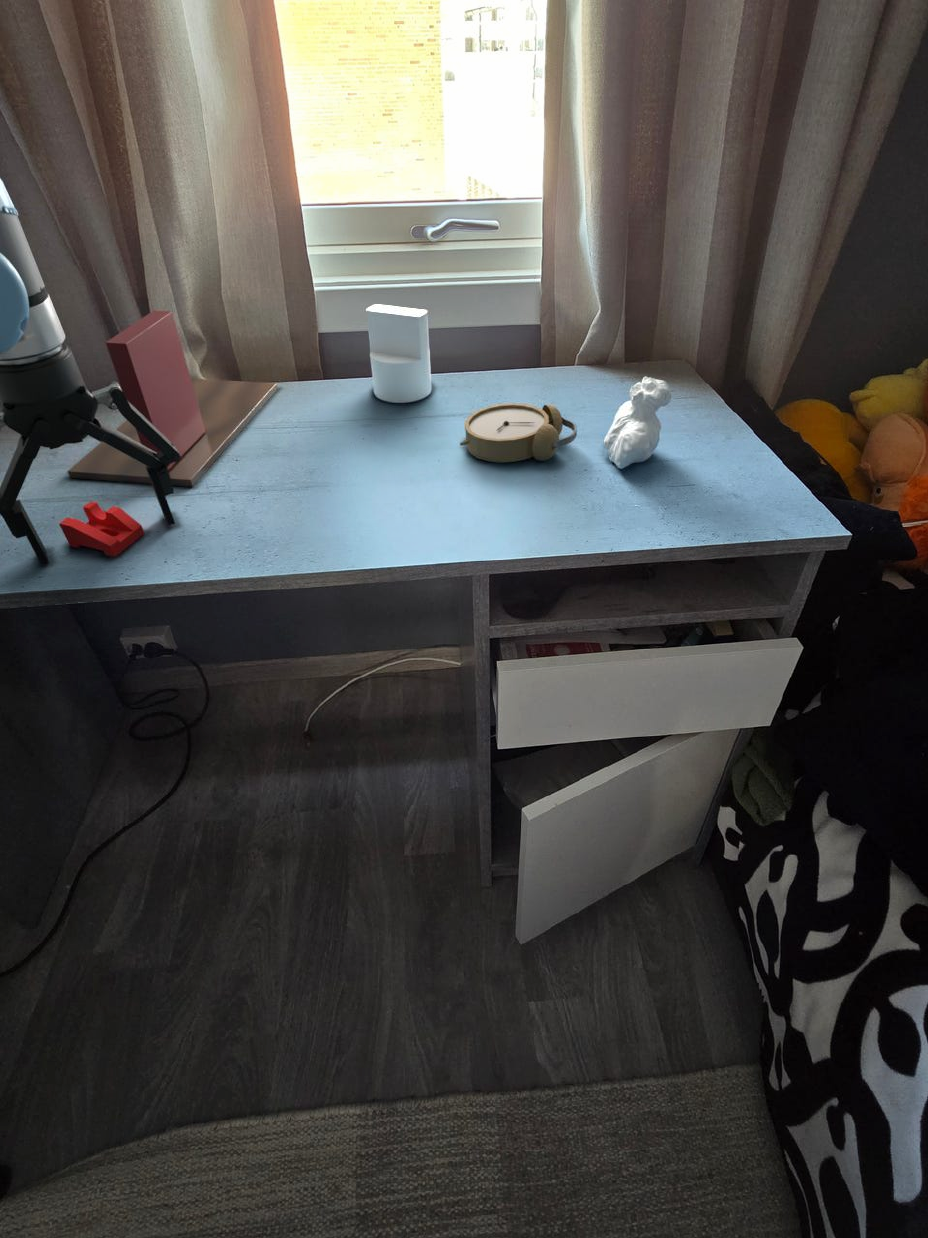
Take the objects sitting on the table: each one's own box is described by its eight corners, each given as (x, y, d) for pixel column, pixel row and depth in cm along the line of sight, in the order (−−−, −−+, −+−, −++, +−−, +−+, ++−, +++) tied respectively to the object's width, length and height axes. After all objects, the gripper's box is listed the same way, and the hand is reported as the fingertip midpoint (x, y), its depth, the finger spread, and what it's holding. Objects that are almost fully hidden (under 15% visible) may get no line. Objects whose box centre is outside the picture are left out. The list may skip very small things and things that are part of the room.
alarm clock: (471, 403, 97) (578, 392, 92) (477, 435, 100) (581, 426, 96) (454, 440, 88) (570, 430, 84) (461, 474, 92) (574, 466, 87)
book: (149, 469, 88) (105, 342, 77) (189, 429, 96) (153, 310, 85) (168, 470, 88) (125, 343, 77) (205, 430, 96) (172, 310, 85)
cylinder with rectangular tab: (363, 397, 106) (354, 316, 98) (390, 375, 112) (383, 297, 104) (416, 406, 103) (410, 323, 95) (440, 383, 109) (437, 304, 101)
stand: (70, 478, 89) (67, 471, 88) (177, 383, 111) (176, 377, 110) (192, 486, 87) (190, 479, 86) (277, 388, 109) (276, 382, 108)
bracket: (69, 545, 78) (58, 523, 76) (100, 523, 81) (90, 501, 79) (115, 556, 76) (105, 534, 74) (144, 533, 79) (135, 511, 77)
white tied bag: (632, 493, 88) (702, 430, 81) (588, 458, 85) (657, 390, 79) (626, 448, 97) (689, 388, 90) (586, 415, 94) (648, 351, 88)
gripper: (-135, 396, 57) (-12, 592, 71) (170, 335, 66) (225, 519, 81) (-131, 366, 62) (-16, 556, 76) (153, 313, 71) (208, 491, 85)
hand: (108, 537), depth 78 cm, fingers open, 13 cm apart
